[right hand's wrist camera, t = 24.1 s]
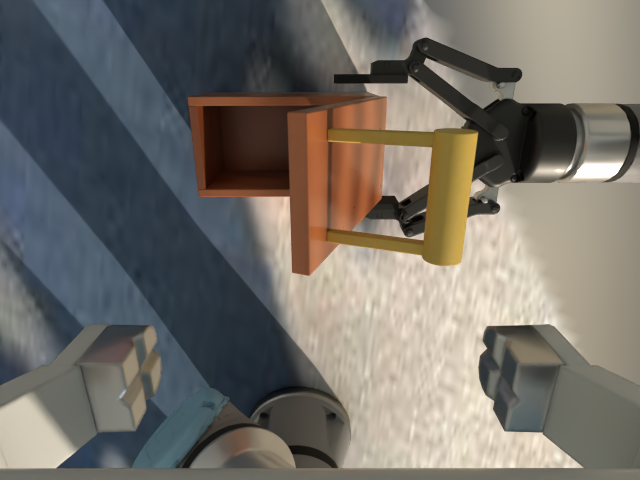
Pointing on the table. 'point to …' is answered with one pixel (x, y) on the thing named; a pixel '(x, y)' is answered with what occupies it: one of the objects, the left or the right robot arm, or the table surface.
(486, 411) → the table surface
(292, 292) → the table surface
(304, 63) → the table surface
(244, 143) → the chest
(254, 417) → the left robot arm
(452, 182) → the wooden door with handle
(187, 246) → the table surface
